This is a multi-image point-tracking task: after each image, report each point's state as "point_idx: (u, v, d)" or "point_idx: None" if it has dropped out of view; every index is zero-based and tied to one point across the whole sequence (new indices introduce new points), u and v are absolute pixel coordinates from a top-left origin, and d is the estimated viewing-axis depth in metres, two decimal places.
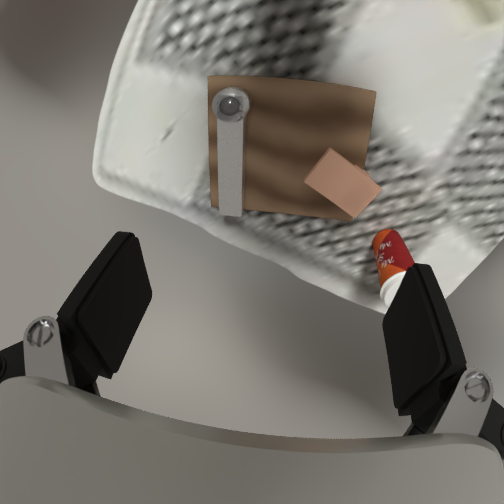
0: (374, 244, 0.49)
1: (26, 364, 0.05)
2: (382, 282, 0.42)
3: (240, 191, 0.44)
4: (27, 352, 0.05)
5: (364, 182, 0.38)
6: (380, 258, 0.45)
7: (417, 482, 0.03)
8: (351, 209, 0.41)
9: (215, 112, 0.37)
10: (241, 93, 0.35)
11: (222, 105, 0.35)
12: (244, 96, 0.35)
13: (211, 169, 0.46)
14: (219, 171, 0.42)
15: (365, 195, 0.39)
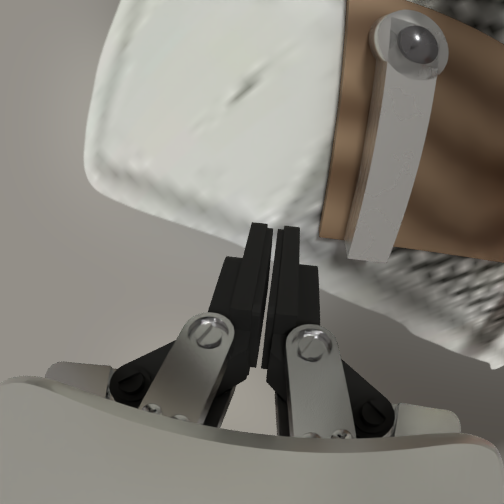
0: None
1: (170, 355, 0.06)
2: None
3: (400, 218, 0.20)
4: (180, 342, 0.06)
5: None
6: None
7: (417, 482, 0.03)
8: None
9: (385, 50, 0.13)
10: (437, 28, 0.11)
11: (407, 38, 0.12)
12: (442, 35, 0.11)
13: (335, 168, 0.22)
14: (371, 176, 0.19)
15: None
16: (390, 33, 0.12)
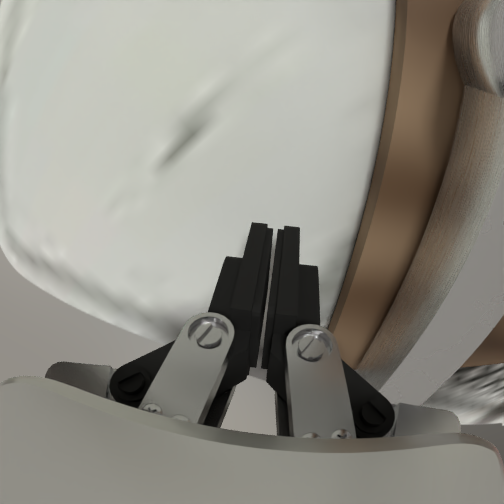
0: None
1: (170, 355, 0.06)
2: None
3: (450, 374, 0.11)
4: (179, 342, 0.06)
5: None
6: None
7: (417, 482, 0.03)
8: None
9: None
10: None
11: None
12: None
13: (356, 290, 0.12)
14: (426, 336, 0.09)
15: None
16: None
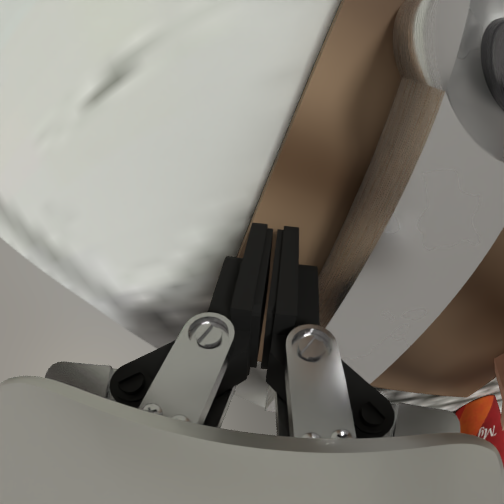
0: (465, 417, 0.21)
1: (170, 355, 0.06)
2: None
3: None
4: (180, 342, 0.06)
5: None
6: None
7: (417, 482, 0.03)
8: None
9: (447, 58, 0.04)
10: None
11: None
12: None
13: None
14: None
15: None
16: (467, 17, 0.03)
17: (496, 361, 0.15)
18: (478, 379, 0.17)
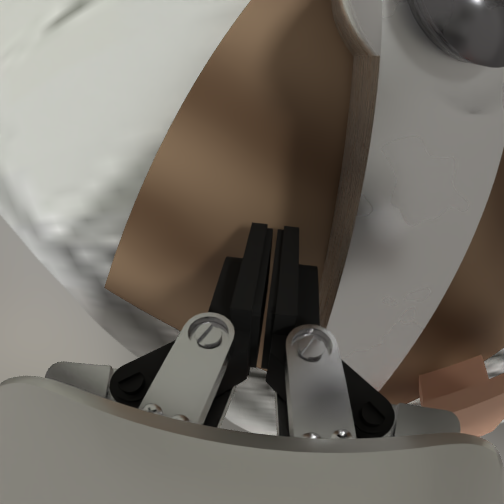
0: None
1: (170, 355, 0.06)
2: None
3: (385, 377, 0.11)
4: (180, 342, 0.06)
5: (492, 424, 0.11)
6: None
7: (417, 482, 0.03)
8: None
9: (371, 21, 0.04)
10: None
11: None
12: None
13: (143, 200, 0.11)
14: None
15: None
16: None
17: (421, 378, 0.16)
18: (399, 396, 0.19)
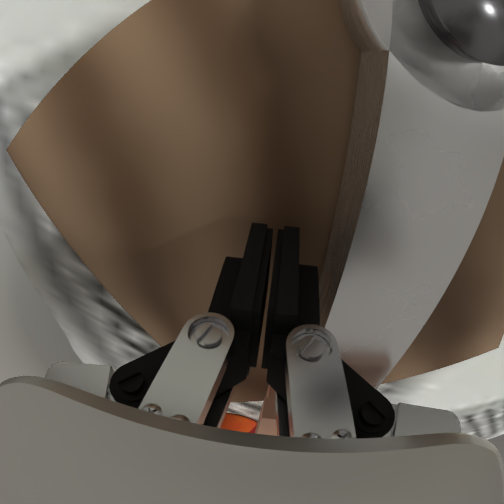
0: None
1: (170, 355, 0.06)
2: None
3: (383, 374, 0.11)
4: (179, 342, 0.06)
5: None
6: None
7: (417, 482, 0.03)
8: None
9: (382, 16, 0.04)
10: None
11: None
12: None
13: (79, 67, 0.08)
14: (331, 328, 0.09)
15: None
16: None
17: None
18: (244, 389, 0.20)
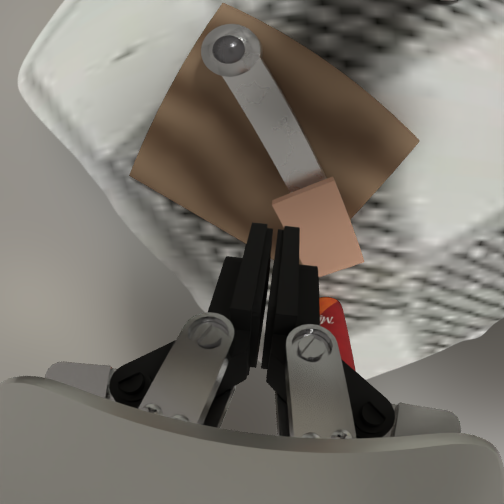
0: None
1: (170, 355, 0.06)
2: None
3: (317, 166, 0.26)
4: (179, 342, 0.06)
5: (350, 243, 0.28)
6: None
7: (417, 482, 0.03)
8: None
9: (215, 70, 0.21)
10: (234, 25, 0.19)
11: (218, 52, 0.20)
12: (241, 27, 0.19)
13: (153, 126, 0.28)
14: (270, 152, 0.25)
15: (341, 259, 0.29)
16: (210, 57, 0.21)
17: None
18: None
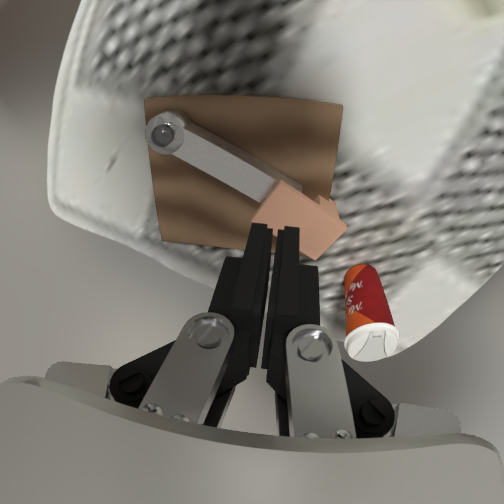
0: (345, 281, 0.44)
1: (170, 355, 0.06)
2: (347, 332, 0.37)
3: (268, 177, 0.33)
4: (179, 342, 0.06)
5: (325, 220, 0.33)
6: (348, 301, 0.40)
7: (417, 482, 0.03)
8: (310, 250, 0.36)
9: (165, 152, 0.32)
10: (156, 117, 0.30)
11: (157, 142, 0.31)
12: (160, 115, 0.30)
13: (157, 202, 0.41)
14: (232, 185, 0.34)
15: (326, 235, 0.34)
16: (156, 146, 0.32)
17: None
18: None
